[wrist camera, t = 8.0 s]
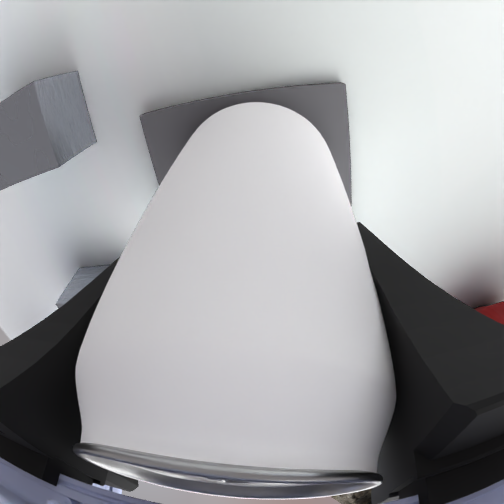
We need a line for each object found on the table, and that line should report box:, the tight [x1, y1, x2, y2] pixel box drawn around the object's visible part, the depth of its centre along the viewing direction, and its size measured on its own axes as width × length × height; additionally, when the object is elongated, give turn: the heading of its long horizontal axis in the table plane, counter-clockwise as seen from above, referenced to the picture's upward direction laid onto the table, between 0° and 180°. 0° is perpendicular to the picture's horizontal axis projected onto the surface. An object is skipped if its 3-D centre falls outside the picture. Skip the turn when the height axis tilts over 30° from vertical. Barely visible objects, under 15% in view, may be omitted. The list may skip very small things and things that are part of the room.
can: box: [73, 102, 396, 499], centre depth 9 cm, size 6×6×12 cm
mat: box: [140, 83, 351, 205], centre depth 15 cm, size 9×9×1 cm
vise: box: [0, 71, 110, 308], centre depth 15 cm, size 17×5×4 cm, turn 9°
